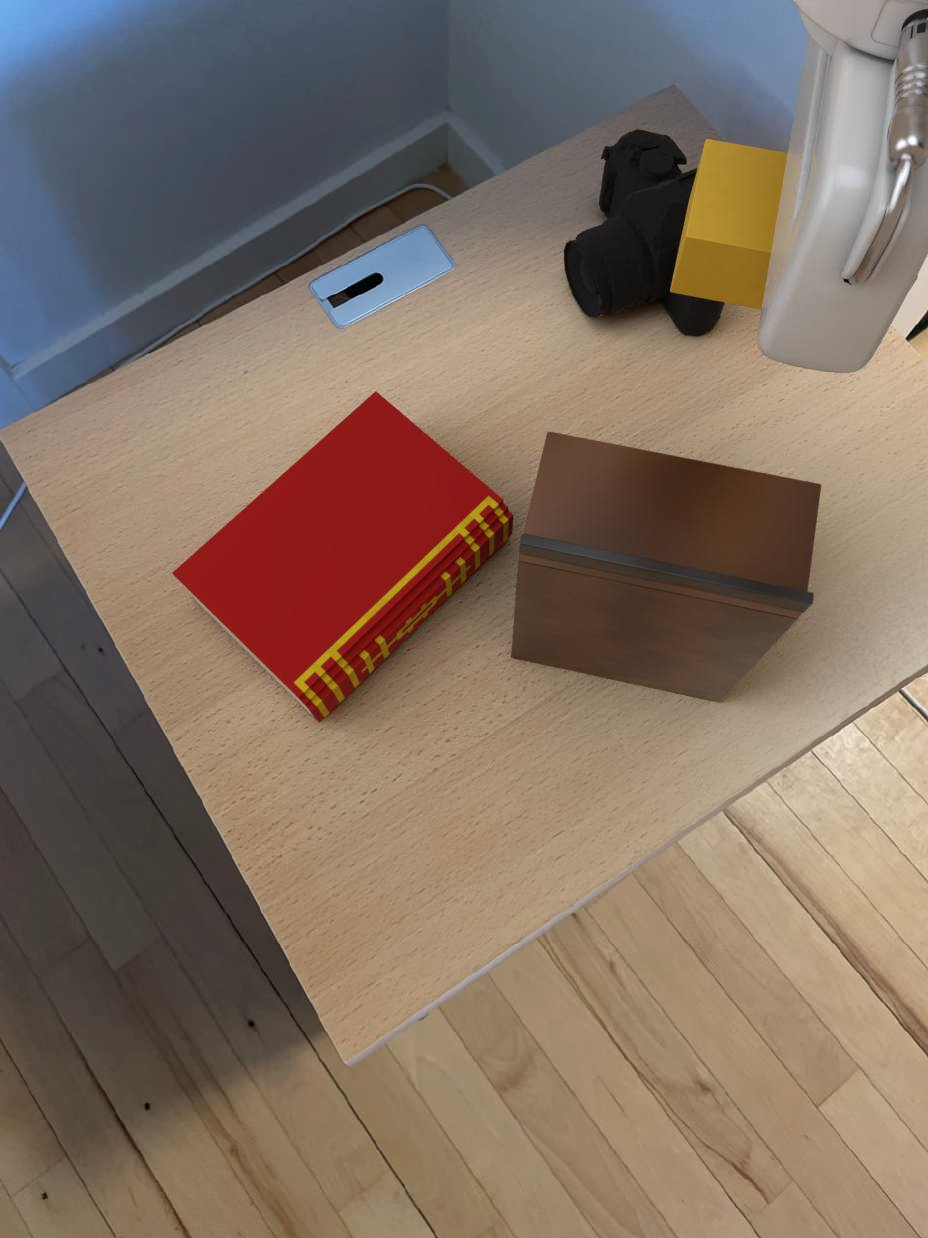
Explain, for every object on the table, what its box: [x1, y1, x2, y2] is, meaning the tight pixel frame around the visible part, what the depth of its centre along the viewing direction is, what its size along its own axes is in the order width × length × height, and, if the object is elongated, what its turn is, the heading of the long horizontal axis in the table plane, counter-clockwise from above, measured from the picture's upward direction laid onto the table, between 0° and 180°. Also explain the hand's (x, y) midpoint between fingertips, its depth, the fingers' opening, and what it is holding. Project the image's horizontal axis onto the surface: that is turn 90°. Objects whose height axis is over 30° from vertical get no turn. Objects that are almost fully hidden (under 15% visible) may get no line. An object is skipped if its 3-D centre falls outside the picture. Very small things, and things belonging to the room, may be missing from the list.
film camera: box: [563, 128, 726, 337], centre depth 71 cm, size 15×10×9 cm, turn 25°
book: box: [171, 390, 514, 724], centre depth 65 cm, size 18×13×5 cm
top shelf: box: [518, 431, 822, 619], centre depth 49 cm, size 14×7×2 cm, turn 77°
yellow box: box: [670, 138, 919, 310], centre depth 41 cm, size 5×9×4 cm, turn 76°
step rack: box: [510, 559, 799, 704], centre depth 59 cm, size 14×13×17 cm
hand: (798, 237), depth 41 cm, fingers closed on yellow box, 5 cm apart
